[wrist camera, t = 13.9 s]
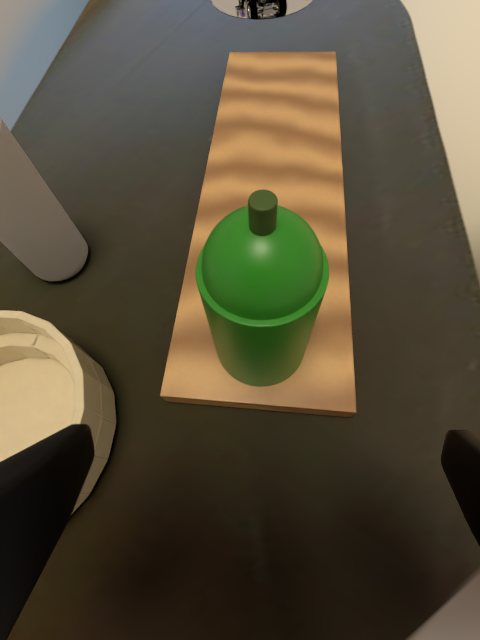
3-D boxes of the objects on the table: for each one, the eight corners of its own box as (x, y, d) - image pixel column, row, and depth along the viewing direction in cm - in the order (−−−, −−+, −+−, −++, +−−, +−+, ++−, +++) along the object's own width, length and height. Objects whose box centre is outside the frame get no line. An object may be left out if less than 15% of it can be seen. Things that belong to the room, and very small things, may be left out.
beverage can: (85, 230, 29) (-14, 82, 19) (97, 271, 27) (-5, 131, 17) (29, 250, 29) (-106, 108, 18) (38, 294, 27) (-108, 162, 16)
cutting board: (350, 417, 21) (356, 412, 20) (165, 401, 22) (159, 395, 21) (333, 66, 39) (335, 51, 38) (230, 66, 40) (229, 51, 39)
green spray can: (311, 383, 21) (371, 262, 10) (218, 390, 21) (174, 278, 10) (297, 302, 24) (332, 135, 13) (215, 309, 24) (177, 149, 13)
